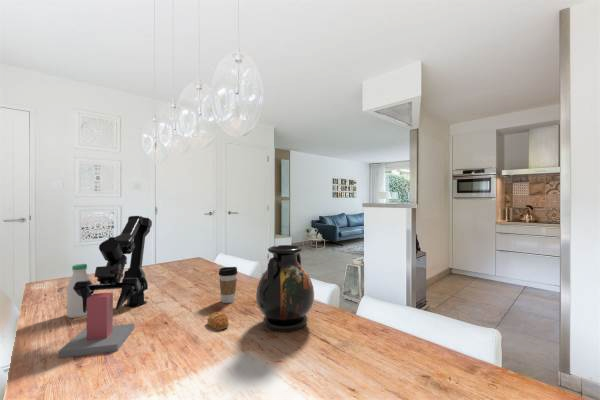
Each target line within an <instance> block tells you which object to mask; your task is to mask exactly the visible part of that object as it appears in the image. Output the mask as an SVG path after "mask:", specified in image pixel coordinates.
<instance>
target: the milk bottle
mask: <svg viewBox="0 0 600 400" xmlns="http://www.w3.org/2000/svg"><path fill="white" fill-rule="evenodd" d="M87 267H88V264H87V263H79V264H74V265H72V275H71V278H70V280H69V281H68V284H67V289H66V291H67V293H66V316H67V318H71V319H74V318H76V319H77V318H82V317H84V316H87V311H86V313H84V312H83V300H82V297H81V296H78V294H77V293H76V292H75V290H74V289H73V287H74V284H75V283H76V282H78V281H91V279H90V277H89V275H88V273H87V269H88V268H87Z"/></svg>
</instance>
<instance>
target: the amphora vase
mask: <svg viewBox="0 0 600 400" xmlns="http://www.w3.org/2000/svg"><path fill="white" fill-rule="evenodd" d="M267 251H268V253H270V254H272V256H273V257H270V259H269V260H268V263H267V268H266V270H264V272H263V274H262V275H261V277H260V278H259V281H258V284H257V287H256V292H255V293H256V295H255V298H256V300H255V302H256V305H257V307H258V309H259V311H260V312H261V314H262V315H263V316H264V317H263V318H262V319H263V320H262V321H263V322H262V323H263V325H264V326H265V327H267V328H268V329H269V330H272V331H277V332H293V331H296V330H298V329H299V330H300V329H301V328H303V327H304V326H305V325H307V323H308V316H307V314H308V313H309V312H310V310H311V309H312V308H313V305H314V303H315V302H314V301H315V290H314V285H313V282H312V280H311V277H310V275H309V274H308V272H307V271H306V270H305V269H304V268H303V267H302V265H301V264H302V262H301V261H302V260H301V255H300V253H301V252H302V251H303V247H301V246H299V245H293V244H290V245H289V244H280V245H279V244H278V245H273V246H270V247H268V248H267Z"/></svg>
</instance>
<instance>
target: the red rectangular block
mask: <svg viewBox="0 0 600 400" xmlns="http://www.w3.org/2000/svg"><path fill="white" fill-rule="evenodd" d="M113 312H114V292H100V293H93V294H92V295H91V296H90V297H88V298H87V315H86V328H87V340H94V339H103V338H107V337H108V336H109V335H110V334H111V333H112V332H113V324H114V322H113V320H114V319H113V317H114V313H113Z"/></svg>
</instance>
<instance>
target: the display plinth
mask: <svg viewBox="0 0 600 400" xmlns="http://www.w3.org/2000/svg"><path fill="white" fill-rule="evenodd" d="M134 330H135V323H126V324H114V325H113V332H112V333H111V334H110V335H109V336H108V337H107V338H103V339H94V340H87V327H86V328H84V329H82V331H79V332H78V333H77V334H76V335H75V337H73V338H72V339H71V340H69V342H67V343H66V344H65V345H64V346H63V347H62V348H60V349H59V350H58V359H61V358H62V359H63V358H71V357H78V356H86V355H87V356H88V355H94V354H95V355H96V354H102V353H103V354H104V353H111V352H118V351H119V350H120V348H121V347H122V345H124V343H125V342H126V341H127V339H128V338H129V336H130V335H131V333H132V332H133V331H134Z"/></svg>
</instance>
